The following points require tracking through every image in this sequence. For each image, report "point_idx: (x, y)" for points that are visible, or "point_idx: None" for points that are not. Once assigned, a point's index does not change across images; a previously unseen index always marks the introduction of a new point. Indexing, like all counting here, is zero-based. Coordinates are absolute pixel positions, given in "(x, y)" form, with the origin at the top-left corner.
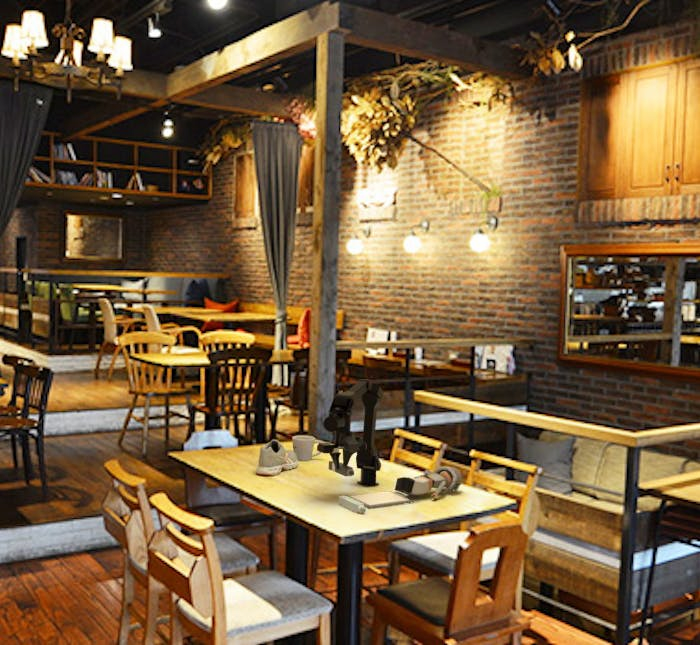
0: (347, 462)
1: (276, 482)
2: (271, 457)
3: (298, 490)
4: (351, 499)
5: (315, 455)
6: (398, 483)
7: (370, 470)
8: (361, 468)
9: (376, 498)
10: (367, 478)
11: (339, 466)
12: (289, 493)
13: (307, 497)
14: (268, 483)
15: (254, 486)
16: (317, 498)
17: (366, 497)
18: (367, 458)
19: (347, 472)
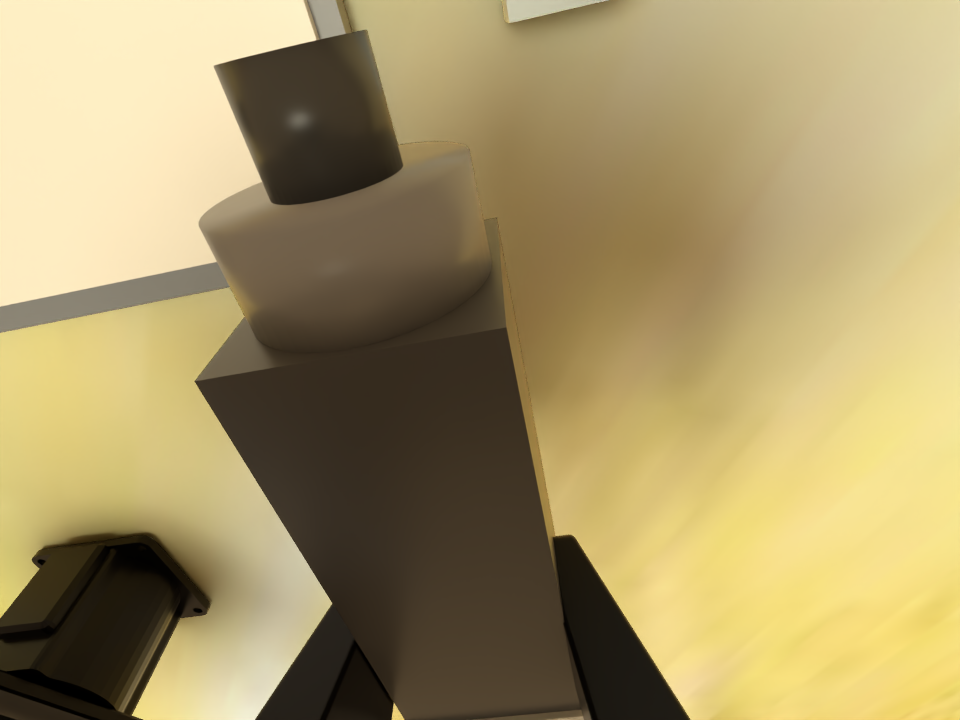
0: (296, 708)
1: (741, 669)
2: None
3: (720, 533)
4: None
5: None
6: None
7: (27, 675)
8: (117, 714)
9: (12, 30)
10: (103, 603)
11: (559, 585)
12: (845, 483)
13: (786, 358)
14: (802, 662)
15: (935, 633)
16: (715, 310)
17: (165, 122)
18: None
19: (472, 175)
